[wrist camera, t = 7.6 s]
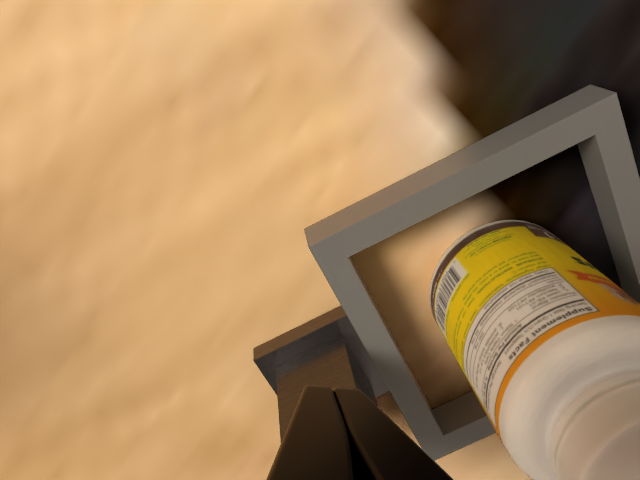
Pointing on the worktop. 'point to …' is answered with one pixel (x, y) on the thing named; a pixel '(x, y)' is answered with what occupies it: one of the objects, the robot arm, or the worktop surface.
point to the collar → (455, 186)
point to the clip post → (317, 362)
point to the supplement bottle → (544, 350)
